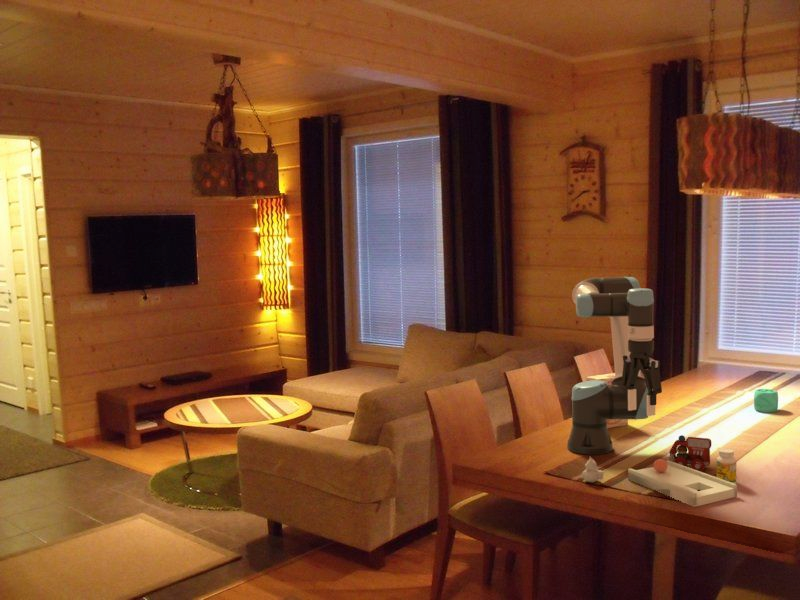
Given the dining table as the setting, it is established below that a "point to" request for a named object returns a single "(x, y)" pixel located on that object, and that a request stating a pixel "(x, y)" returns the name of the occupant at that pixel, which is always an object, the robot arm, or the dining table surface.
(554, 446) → the dining table surface
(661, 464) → the ball
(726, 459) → the supplement bottle
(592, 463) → the white figurine
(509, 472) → the dining table surface
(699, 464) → the toy fire truck
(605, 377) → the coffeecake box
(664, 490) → the board
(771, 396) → the decorative dice
